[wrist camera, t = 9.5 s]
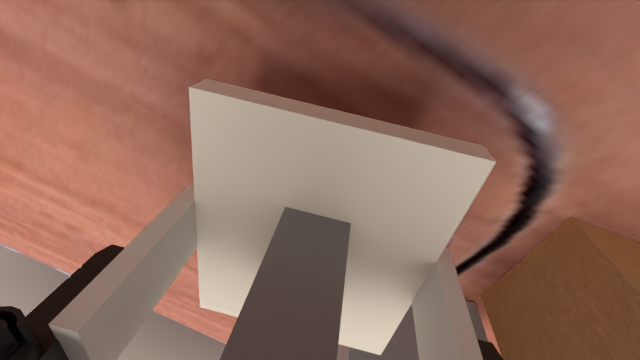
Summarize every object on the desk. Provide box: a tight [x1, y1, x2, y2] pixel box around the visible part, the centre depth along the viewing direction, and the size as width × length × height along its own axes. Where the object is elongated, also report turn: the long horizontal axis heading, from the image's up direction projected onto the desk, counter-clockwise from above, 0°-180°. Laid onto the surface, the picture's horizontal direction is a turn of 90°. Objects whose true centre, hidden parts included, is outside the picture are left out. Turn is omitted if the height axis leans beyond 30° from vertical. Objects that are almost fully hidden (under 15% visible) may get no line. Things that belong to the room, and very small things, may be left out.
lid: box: [189, 79, 496, 360], centre depth 11 cm, size 12×10×8 cm
